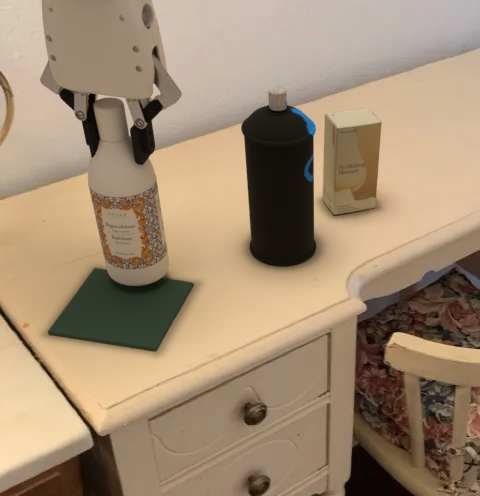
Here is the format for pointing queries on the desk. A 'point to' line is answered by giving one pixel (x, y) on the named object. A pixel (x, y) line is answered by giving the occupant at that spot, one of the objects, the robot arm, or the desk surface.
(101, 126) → the bath foam
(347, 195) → the cosmetic box
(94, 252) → the desk surface
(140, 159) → the robot arm
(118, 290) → the mat
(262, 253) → the aerosol can
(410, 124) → the desk surface
